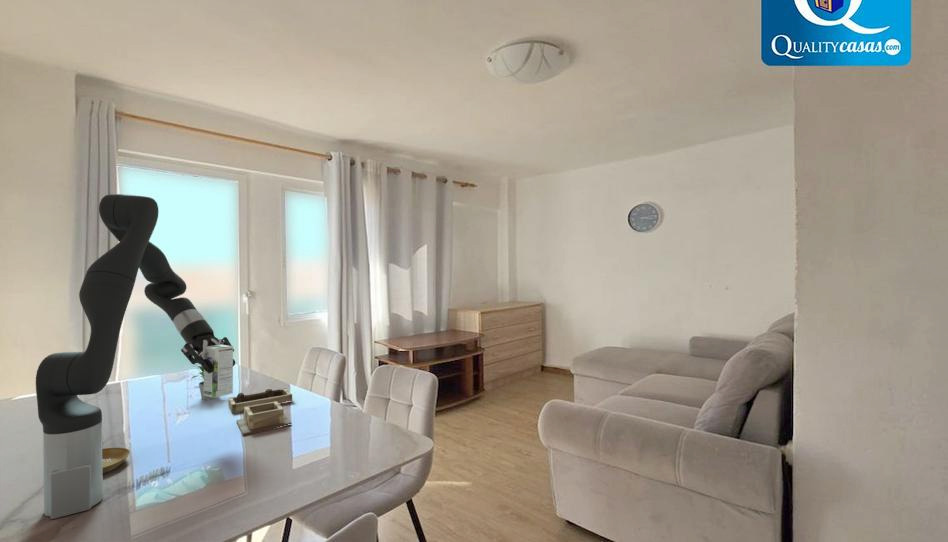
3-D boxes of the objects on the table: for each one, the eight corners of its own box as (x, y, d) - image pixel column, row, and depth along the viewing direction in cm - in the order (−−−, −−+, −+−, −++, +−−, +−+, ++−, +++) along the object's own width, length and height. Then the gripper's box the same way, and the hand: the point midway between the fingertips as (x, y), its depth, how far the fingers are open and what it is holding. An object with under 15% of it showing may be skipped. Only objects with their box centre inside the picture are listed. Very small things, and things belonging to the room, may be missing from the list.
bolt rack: (292, 402, 159) (292, 394, 159) (232, 413, 147) (232, 405, 147) (285, 395, 168) (285, 388, 168) (228, 405, 156) (228, 397, 156)
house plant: (175, 401, 161) (174, 359, 161) (207, 391, 174) (207, 352, 174) (203, 405, 157) (203, 361, 157) (234, 394, 170) (234, 354, 170)
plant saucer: (133, 469, 107) (133, 459, 107) (51, 491, 97) (51, 480, 97) (127, 451, 118) (127, 442, 117) (53, 469, 107) (53, 459, 107)
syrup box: (202, 395, 123) (202, 346, 123) (222, 390, 128) (222, 343, 128) (214, 398, 120) (213, 348, 120) (234, 393, 126) (233, 345, 126)
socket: (291, 425, 136) (291, 409, 136) (242, 436, 127) (242, 418, 127) (281, 413, 147) (281, 398, 147) (236, 422, 139) (236, 406, 139)
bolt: (280, 383, 163) (237, 390, 153) (284, 392, 160) (240, 400, 150) (278, 394, 166) (236, 402, 156) (282, 403, 162) (238, 412, 152)
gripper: (176, 321, 120) (207, 365, 116) (220, 316, 134) (249, 355, 130) (163, 339, 122) (193, 383, 118) (208, 332, 135) (236, 371, 132)
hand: (222, 368), depth 124 cm, fingers closed on syrup box, 6 cm apart
